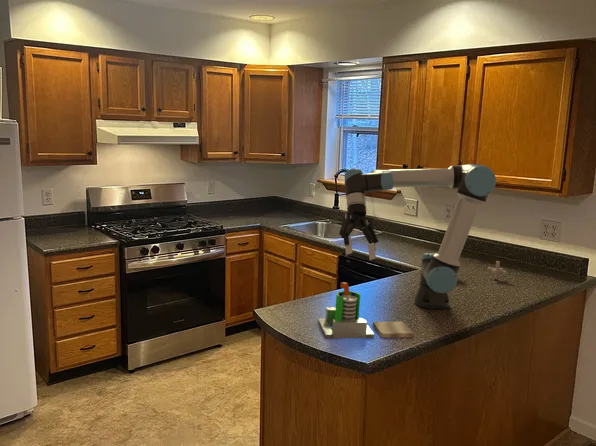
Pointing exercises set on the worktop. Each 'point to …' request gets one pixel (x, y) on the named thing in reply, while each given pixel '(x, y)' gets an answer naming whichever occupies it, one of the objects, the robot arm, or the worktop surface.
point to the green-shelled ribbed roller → (347, 304)
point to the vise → (344, 327)
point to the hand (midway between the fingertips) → (361, 256)
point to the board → (392, 329)
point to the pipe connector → (497, 270)
